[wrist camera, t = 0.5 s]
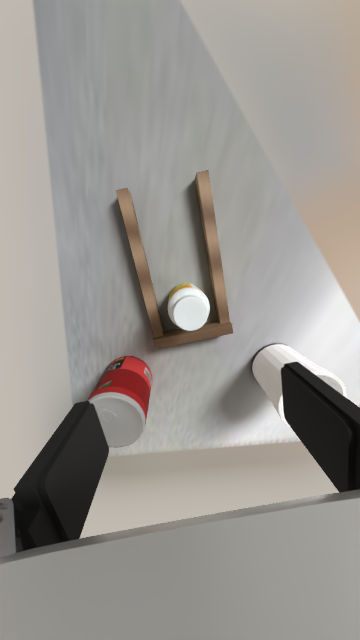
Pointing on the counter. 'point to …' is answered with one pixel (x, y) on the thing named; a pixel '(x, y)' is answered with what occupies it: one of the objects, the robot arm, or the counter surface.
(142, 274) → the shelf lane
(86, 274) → the counter surface
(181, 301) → the supplement bottle
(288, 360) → the mug
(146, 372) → the canned food
